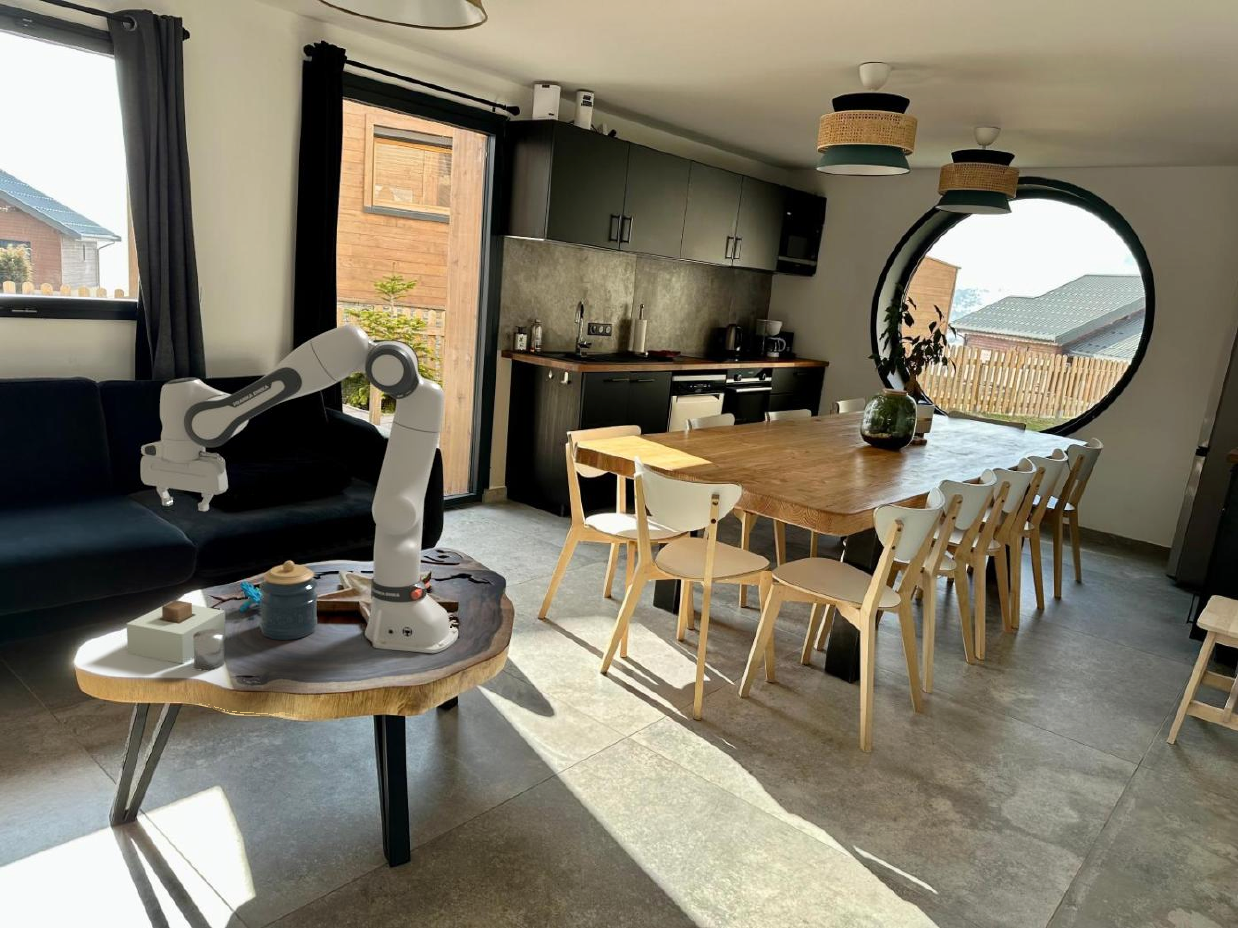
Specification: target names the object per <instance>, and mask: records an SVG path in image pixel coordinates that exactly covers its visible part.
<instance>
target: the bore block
mask: <svg viewBox="0 0 1238 928" xmlns="http://www.w3.org/2000/svg"><path fill="white" fill-rule="evenodd" d="M171 602H173V600H172V601H170V602H168V603H166V604H163V606H165V605H167V604H169V603H171ZM206 629H218V630H221V631H223V632H224V640H225V639H226V611H225V610H222V609H216V608H211V607H206V606H201V605H194V604H192V617H191V618H189V619H187V620H185V621H183V622H182V623H180V624H178V623H172V622H167V621H163V619H162V606H160V607H158V608H156V609H154V610H152V611H150V612H148V613H145V614H143V615H141V616H139V617H138V618H136V619H134V620H131V621H129V622H127V623H126V639H127V641H126V642H127V643H126V644H127V653H128V654H131V655H135V656H136V655H137V656H141V657H147V658H151V659H156V660H162V661H167V662H172V663H177V664H181V663H182V664H181V665H183V664H185V662H186V663H187V662H188V661H190V659H191V658H192V659H194V644H193V635H194V634H195V633H197V632H199V631H202V630H206ZM192 659H191V660H192Z"/></svg>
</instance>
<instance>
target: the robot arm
mask: <svg viewBox="0 0 1238 928" xmlns="http://www.w3.org/2000/svg"><path fill="white" fill-rule="evenodd" d="M419 365H420V363H419V357H418V354H417V352H416V351H415V349H414V348H413V347H412V346H411V345H410V344H408V343H406V342H404V341H402V340H396V339H374V340H372V339H371V338H370V337H369V335H368V334H367V332H365V330H363V329H362V328H361V327H360V326H358V325H355V324H345V325H342V326H338V327H334V328H333V329H330V330H328V331H325V332H323V333H320V334H319V335H317V336H314V337H313V338H311V339H309V340H307V341H306V342H303V343H302V344H301V345H300V346H298V347H297V348H295V349H294V350H292V351H291V352H290V353H288V355H286V356H285V357H284V358H283V359H282V360H281V361H280V362H278V364H277V365H275V366H274V367H273V368H272V369H271V370H270V371H269V372H268V373H266V374H265V375H264V376H262V377H261V378H260V379H258V380H256V381H255V382H253V383H251V384H249V385H247V386H245V387H244V388H241V389H240V390H238V391H236V392H234V393H231V394H230V393H227V392H224V391H221V390H218V389H216V388H213V387H212V386H210V385H207V384H206V383H204V382H203V381H202V380H201V379H199V378H197V377H181V378H176V379H171V380H169V381H167V382H165V383H164V385H162V387H161V391H160V399H159V401H160V403H159V418H160V421H161V425H162V430H161V434H160V440H156V441H155V442H152V443H147V444H143V445H142V446H141V447H140V448H141V449H140V451H141V452H140V453H141V454H142V455H143V456H141V459H140V479H141V481H142V484H144V485H145V486H146V485H147V486H153V487H156V491H157V493H158V495H159V496H160V498H161V504H162V506H166V507H167V506H168V507H169V506H171V505H173V503H174V501H173V500H174V497H173V496H170V494H169V491H168V490H169V489H174V490H181V491H188V492H195V493H201V497H202V498H203V499H202V501H201V502H199V503H197V506H198V509H197V510H198V511H200V512H201V511H202V512H207V511H208V510H209V509H210V504H209V503H210V502H211V500H212V498H213V497H214V495H216V496H217V495H220V494H223V493H225V492H226V491H227V489H229V484H228V483H229V482H228V475H227V470H226V461H225V459H224V457H222V456H221V455H220V454H219V453H217V452H213V453H212V452H207V451H206V448H209V449H210V448H218V447H221V446H223V445H224V444H225V443H227V442H228V441H229V440H230V439H231V438H233V437H234V436H236V435H237V434H239V433H240V432H241V431H243V430H244V428H246V427H247V426H248V424H249V421H250V420H251V419H253V418H254V417H256V416H258V415H261V413H263V412H265V411H267V410H268V409H271V408H272V407H274V406H276V405H278V404H280V403H283V402H286V401H289V400H292V399H296V398H299V397H303V396H306V395H310V394H313V393H315V392H318V391H321V390H324V389H326V388H329V387H331V386H333V385H335V384H337V383H338V382H341V381H342V380H344V379H346V378H348V377H349V376H352V375H354V374H359V373H364V374H365V375H366V378H367V380H368V381H369V383H370V384H371V385H372V386H373V387H374V388H375V389H377V390H379V391H381V392H382V393H384V394H386V395H388V396H390V397H392V399H395V400H396V406H395V410H394V411H395V412H394V415H393V419H392V422H391V423H392V424H391V427H390V433H389V436H388V437H389V438H388V441H387V446H386V451H385V454H384V457H383V458H384V459H383V462H382V466H381V469H380V474H379V478H378V480H377V486H376V490H375V494H374V498H373V501H372V507H371V512H372V517H373V521H374V523H375V524H376V525H375V535H374V537H375V538H374V545H373V567H372V568H373V570H372V571H373V572H372V573H373V574H372V575H373V577H372V578H371V582H370V584H371V585H370V599H371V605H370V606H371V607H370V613H369V618H368V622H367V626H366V629H365V631H364V635H365V637H366V639H368V640H369V641H370V642H371V644H372V647H373V648H375V649H381V650H383V649H384V650H394V651H406V652H416V653H417V652H418V653H427V654H428V653H429V654H436V653H440V652H443V651H445V650H447V649H448V648H450V647H451V646H452V645H453V644H454V643H455V642H456V641H457V640H458V637H459V630H458V628H457V627H456V626H455V627H454V626H452V628H450V618H449V613H448V612H447V610H446V609H445V608H444V607H443V606H441V604H439V603H438V602H437V601H436V600H434V599H433V598H432V597H431V596H430V595H428V594H427V589H428V588H429V587H430V581H428V582H426V583H424V582H423V580H422V578H421V562H422V561H421V559H422V540H423V539H422V538H423V523H424V507H425V498H426V493H427V490H428V489H427V488H428V484H429V481H430V480H429V479H430V476H431V471H432V468H433V463H434V459H435V455H436V451H437V446H438V443H439V438H440V433H441V429H442V424H443V418H444V409H445V392H444V390H443V388H442V386H441V385H440V384H438V383H437V382H436V381H434V380H431V379H428V378H424V377H423V376H421V374H420V373H419Z"/></svg>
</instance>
